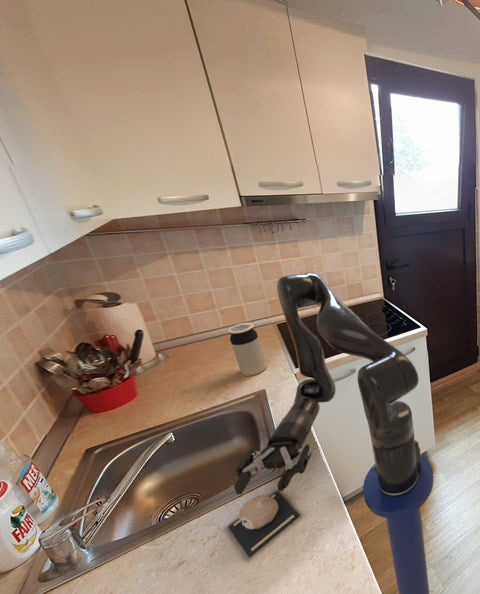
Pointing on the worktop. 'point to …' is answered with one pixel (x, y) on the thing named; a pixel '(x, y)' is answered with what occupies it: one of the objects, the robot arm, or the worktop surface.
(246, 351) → the travel mug
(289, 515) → the slate mat
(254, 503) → the tan rounded piece
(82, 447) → the worktop surface
